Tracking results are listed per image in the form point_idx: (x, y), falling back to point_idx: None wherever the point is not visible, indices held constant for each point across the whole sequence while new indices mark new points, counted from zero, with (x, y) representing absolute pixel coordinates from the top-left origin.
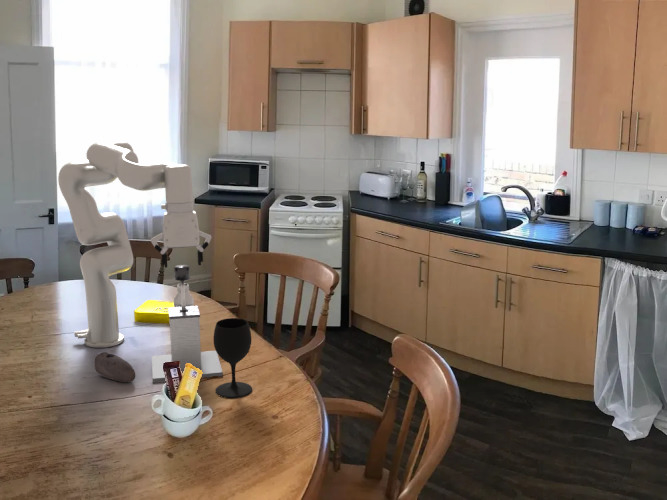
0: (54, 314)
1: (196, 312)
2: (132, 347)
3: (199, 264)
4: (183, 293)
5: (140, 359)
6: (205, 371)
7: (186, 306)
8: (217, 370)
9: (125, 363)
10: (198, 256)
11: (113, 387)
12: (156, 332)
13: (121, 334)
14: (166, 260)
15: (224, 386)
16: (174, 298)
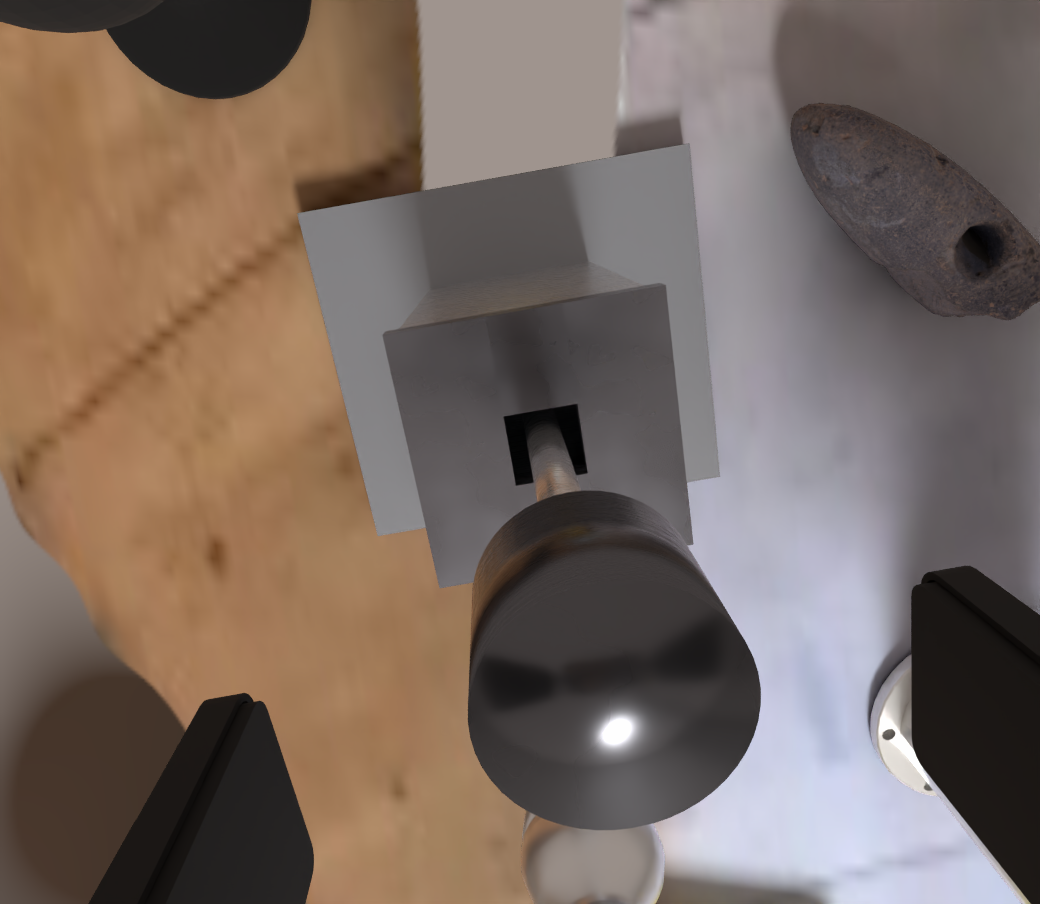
0: None
1: (423, 396)
2: (822, 632)
3: (233, 701)
4: (555, 490)
5: (772, 476)
6: (398, 231)
7: None
8: (330, 242)
9: (881, 146)
10: (179, 853)
11: (891, 92)
12: (717, 810)
13: (890, 762)
14: (1028, 661)
15: (258, 9)
16: (659, 867)
